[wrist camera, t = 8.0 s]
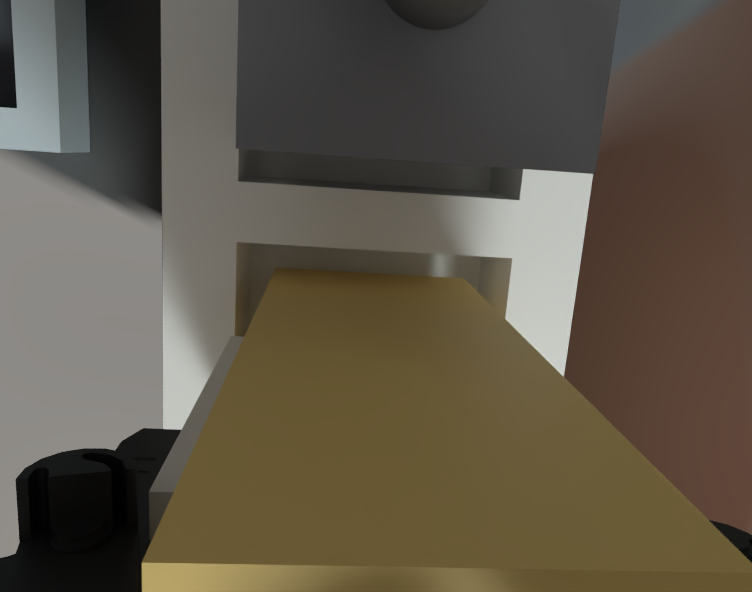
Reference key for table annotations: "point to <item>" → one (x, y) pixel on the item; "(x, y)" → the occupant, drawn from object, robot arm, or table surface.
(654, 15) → the table surface
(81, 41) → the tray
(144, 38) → the table surface
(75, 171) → the table surface
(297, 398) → the plug
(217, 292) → the strip
